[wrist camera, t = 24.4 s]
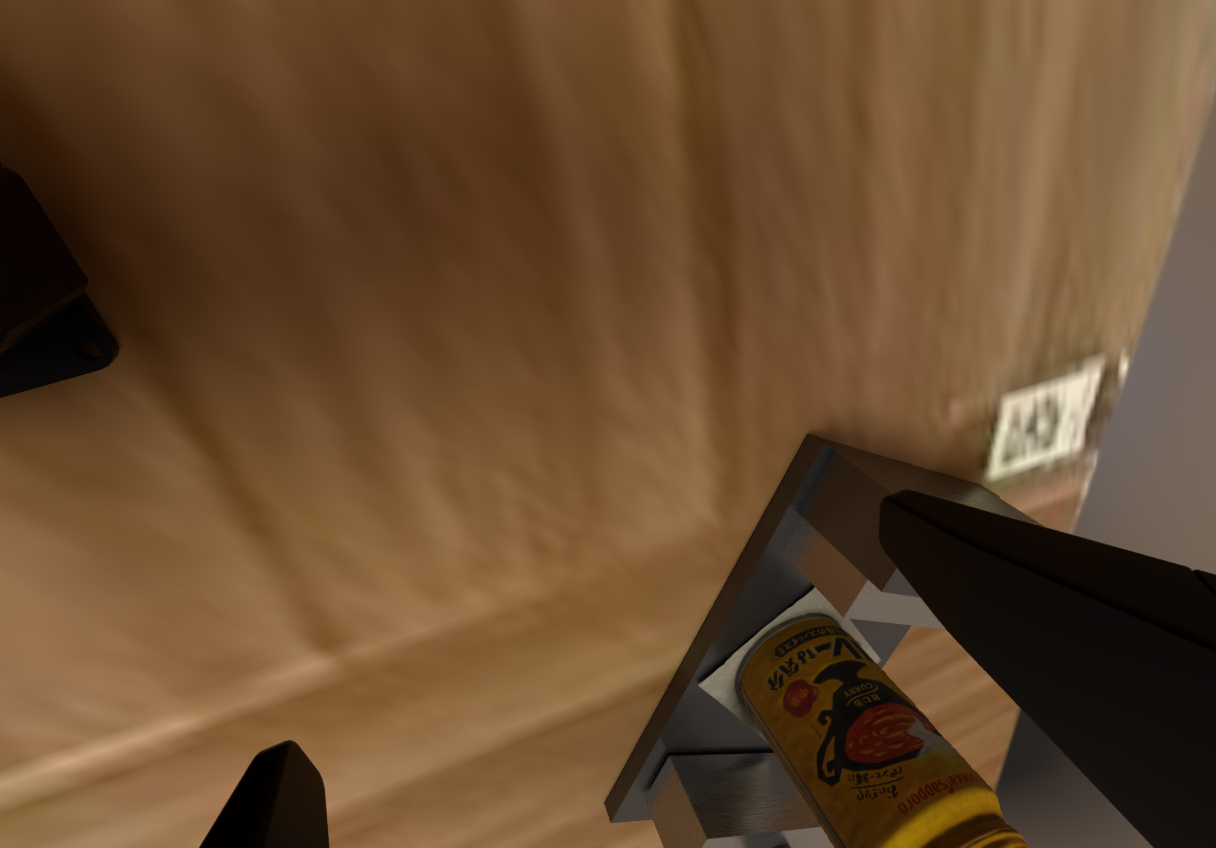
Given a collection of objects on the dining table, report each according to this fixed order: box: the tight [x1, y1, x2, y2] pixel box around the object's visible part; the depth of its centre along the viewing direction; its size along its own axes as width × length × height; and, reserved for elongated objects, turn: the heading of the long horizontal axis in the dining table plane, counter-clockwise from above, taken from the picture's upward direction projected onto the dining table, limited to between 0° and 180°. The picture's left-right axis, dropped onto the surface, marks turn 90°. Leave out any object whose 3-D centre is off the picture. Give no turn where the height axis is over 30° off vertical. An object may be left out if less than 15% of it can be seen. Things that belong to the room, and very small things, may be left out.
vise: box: [605, 435, 1045, 823], centre depth 28 cm, size 22×12×6 cm, turn 156°
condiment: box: [698, 588, 1029, 848], centre depth 25 cm, size 7×8×12 cm
